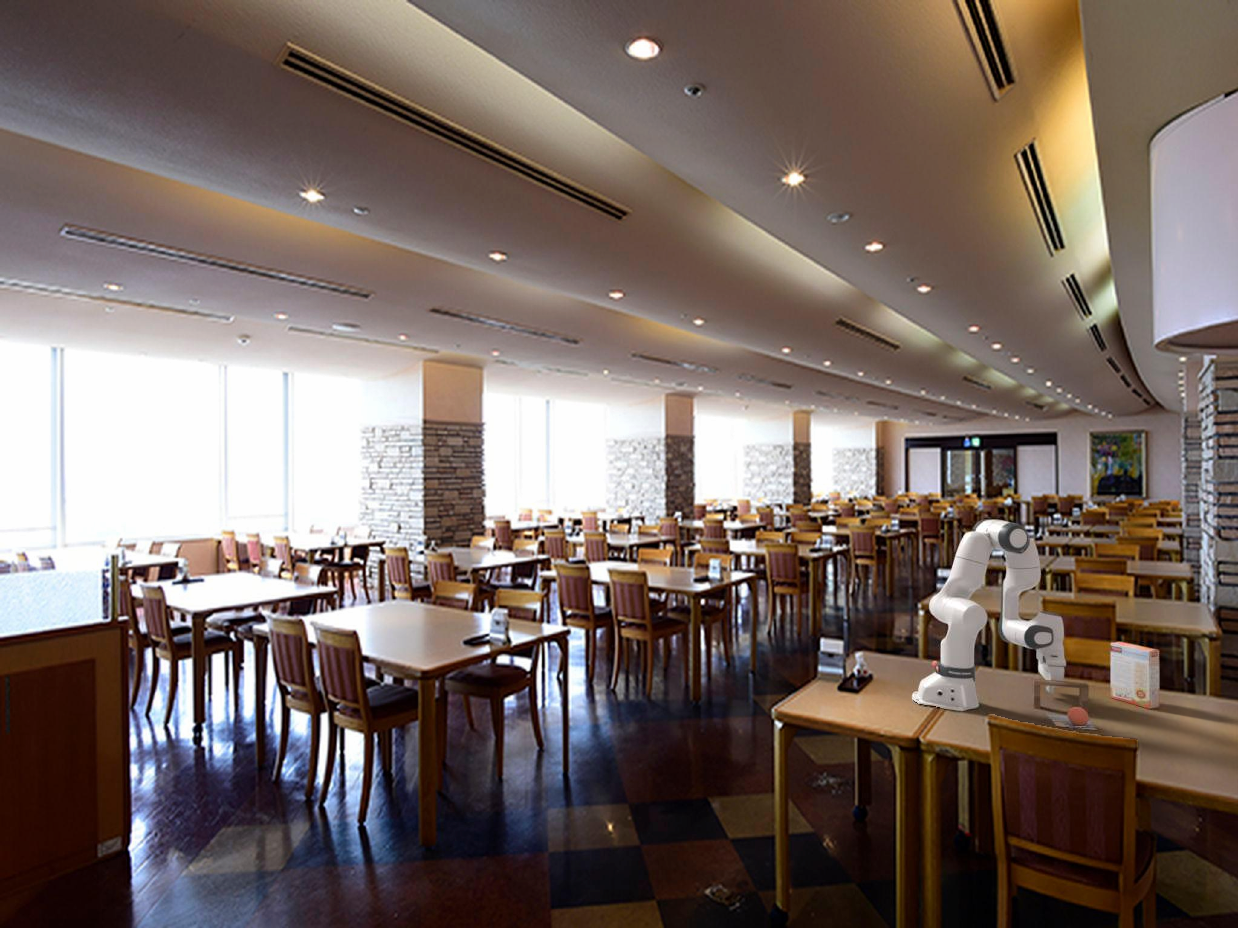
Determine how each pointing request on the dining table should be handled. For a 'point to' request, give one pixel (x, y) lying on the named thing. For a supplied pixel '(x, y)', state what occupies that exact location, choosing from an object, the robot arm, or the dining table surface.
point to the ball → (1078, 716)
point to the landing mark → (1067, 721)
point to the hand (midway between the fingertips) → (1050, 691)
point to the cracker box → (1135, 674)
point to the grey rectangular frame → (1082, 686)
